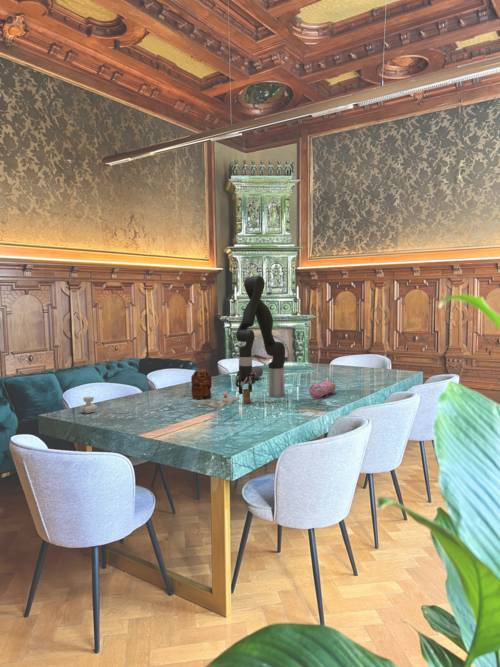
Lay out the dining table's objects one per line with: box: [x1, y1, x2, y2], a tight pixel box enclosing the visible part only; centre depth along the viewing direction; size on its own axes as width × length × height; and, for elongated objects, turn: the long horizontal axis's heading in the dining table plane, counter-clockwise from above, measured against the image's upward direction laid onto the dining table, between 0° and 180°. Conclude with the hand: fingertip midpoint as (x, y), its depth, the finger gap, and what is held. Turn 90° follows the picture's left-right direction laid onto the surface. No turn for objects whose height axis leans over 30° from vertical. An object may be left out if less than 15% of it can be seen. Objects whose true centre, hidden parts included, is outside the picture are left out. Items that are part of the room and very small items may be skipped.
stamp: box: [79, 396, 98, 414], centre depth 243 cm, size 9×7×8 cm
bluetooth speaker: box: [236, 365, 264, 382], centre depth 330 cm, size 23×9×10 cm, turn 147°
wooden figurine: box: [190, 368, 213, 401], centre depth 273 cm, size 12×6×18 cm, turn 121°
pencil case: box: [308, 379, 336, 399], centre depth 274 cm, size 21×9×9 cm, turn 145°
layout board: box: [199, 398, 235, 409], centre depth 257 cm, size 14×14×1 cm
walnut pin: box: [242, 388, 251, 405], centre depth 258 cm, size 4×4×8 cm
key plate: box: [220, 391, 241, 402], centre depth 268 cm, size 8×8×4 cm
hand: (245, 392), depth 258 cm, fingers open, 8 cm apart
